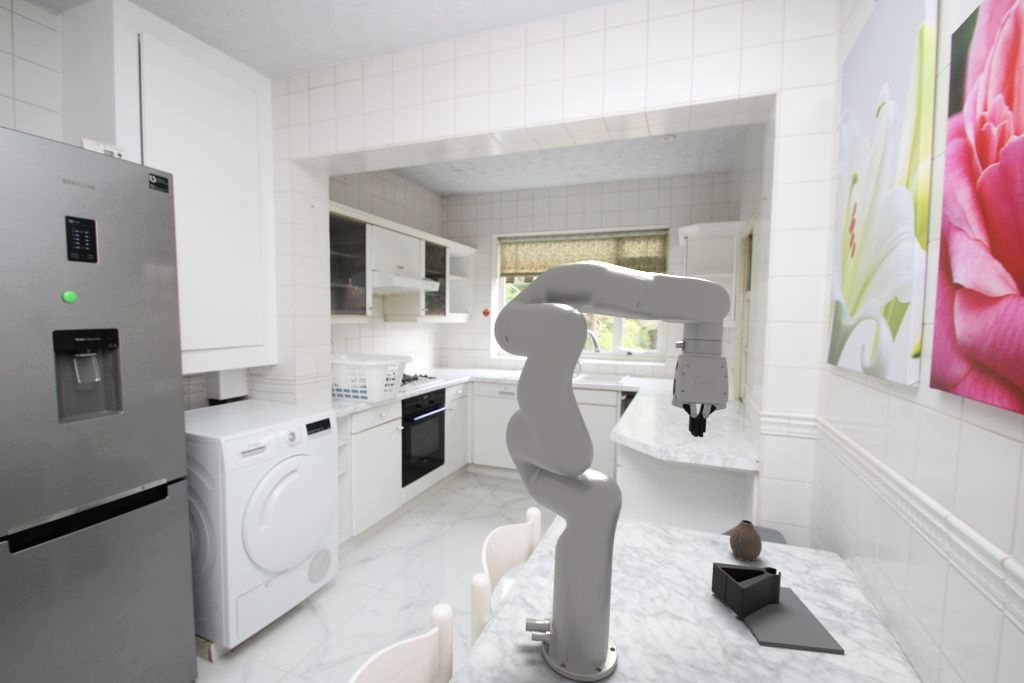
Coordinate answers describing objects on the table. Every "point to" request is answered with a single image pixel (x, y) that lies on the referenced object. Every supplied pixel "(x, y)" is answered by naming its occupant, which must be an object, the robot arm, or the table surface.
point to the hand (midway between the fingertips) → (696, 435)
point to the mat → (790, 625)
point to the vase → (745, 541)
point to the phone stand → (745, 587)
